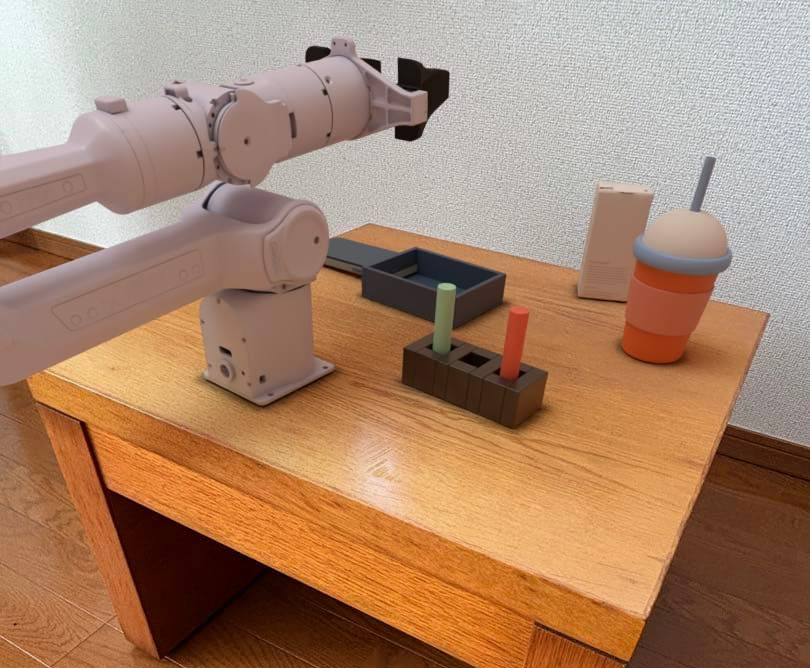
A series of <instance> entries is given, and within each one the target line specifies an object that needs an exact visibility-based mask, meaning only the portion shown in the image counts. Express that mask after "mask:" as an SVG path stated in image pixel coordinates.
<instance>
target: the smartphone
mask: <svg viewBox="0 0 810 668" xmlns="http://www.w3.org/2000/svg"><path fill="white" fill-rule="evenodd" d="M397 253H400V252H398V251H395V250H390V249H387V248H383V247H379V246H375V245H372V244H368V243H364V242H360V241H356V240H353V239H348V238H345V237H340V236H339V237H331V238H329V247H328V253H327V256H326V259H325V262H324V264H323V265H325V266H328V267H332V268H336V269H338V270H343V271H346V272H348V273H353V274H356V275H360V276H362V266H365V265H368V264H370V263H373V262H376V261H378V260H381V259H384V258H386V257H389V256H392V255H394V254H397ZM416 271H417V263H416V262H413V263H411V264H408V265H406V266H403V267H401V268H398V269H396V270H394V271H391V272H390V273H389V274H392V275H395V276H399V277H402V278H403V277H405V276H408V275H410V274H412V273H415V272H416Z"/></svg>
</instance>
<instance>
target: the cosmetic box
mask: <svg viewBox="0 0 810 668" xmlns="http://www.w3.org/2000/svg"><path fill="white" fill-rule="evenodd" d="M652 189H653V188H651V186H650V185H647V184H635V183H622V182H610V181H600V180H599V181H597V182H596V188H595V192H594V197H593V202H592V208H591V213H590V218H589V222H588V228H587V233H586V238H585V242H584V248H583V253H582V257H581V264H580V268H579V272H578V273H579V274H578V278H577V284H576V285H577V297H579V298H585V299H596V300H605V301H606V300H607V301H614V302H615V301H617V302H627V300H628V294H629V288H630V283H631V277H632V273H633V271H634V270H635V266H636V261H637V259H636V258H635V257H634V255H633V253H632V248H633V244H634V242H635V240H636V239H637V237H638V236H640V235H641V234H644V233H645V232H646V229H647V224H648V219H649V215H650V211H651V208H652V204H653V200H654V196H655V194H654V191H653V190H652Z"/></svg>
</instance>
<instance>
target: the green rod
mask: <svg viewBox="0 0 810 668" xmlns="http://www.w3.org/2000/svg"><path fill="white" fill-rule="evenodd" d="M455 295H456V286H455V285H453V284H450V283H442V284H439V285H438V287H437V300H436V313H435V322H434V327H433V332H434V338H433V351H435V352H438V353H441V354H443V355H446V354H447V353H449V352H450V346H451V337H453V336H452V334H453V328H452V326H453V316H454V305H455Z"/></svg>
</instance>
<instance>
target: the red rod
mask: <svg viewBox="0 0 810 668" xmlns="http://www.w3.org/2000/svg"><path fill="white" fill-rule="evenodd" d="M529 318H530V309H529V308H528V307H525V306H520V305H514V306H511V307H510V308H509V312H508V319H507V324H506V332H505V338H504V345H503V351H502V355H503V357H502V363H501V369H500V376H501V377H503V378H506V379H509V380H511V381H513V382H514V381H515V380H517V379H518V375H519V369H520V364H521V362H522V357H523V353H524V347H525V340H526V335H527V330H528V329H527V328H528V323H529Z"/></svg>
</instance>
